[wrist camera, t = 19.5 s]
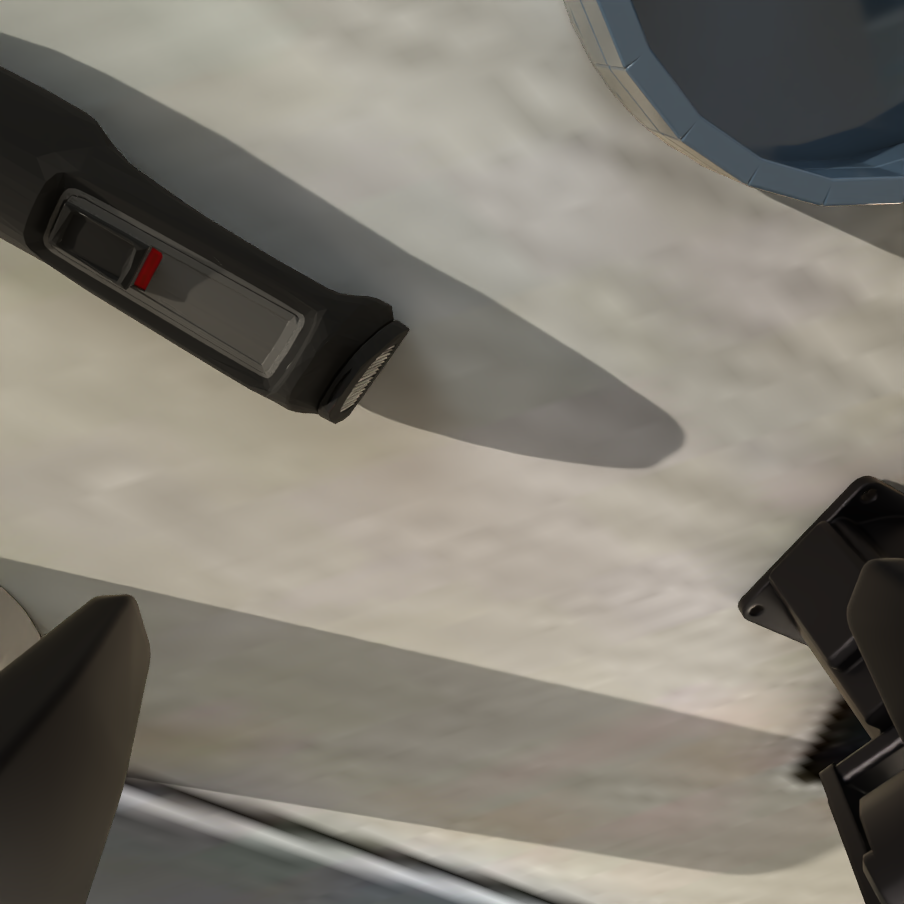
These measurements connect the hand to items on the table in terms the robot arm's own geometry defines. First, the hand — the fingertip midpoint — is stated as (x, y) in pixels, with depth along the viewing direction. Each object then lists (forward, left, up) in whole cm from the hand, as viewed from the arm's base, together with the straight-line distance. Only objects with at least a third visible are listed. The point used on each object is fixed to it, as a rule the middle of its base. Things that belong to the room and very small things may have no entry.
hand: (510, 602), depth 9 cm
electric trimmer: (+8, +2, -12) cm, 15 cm away
